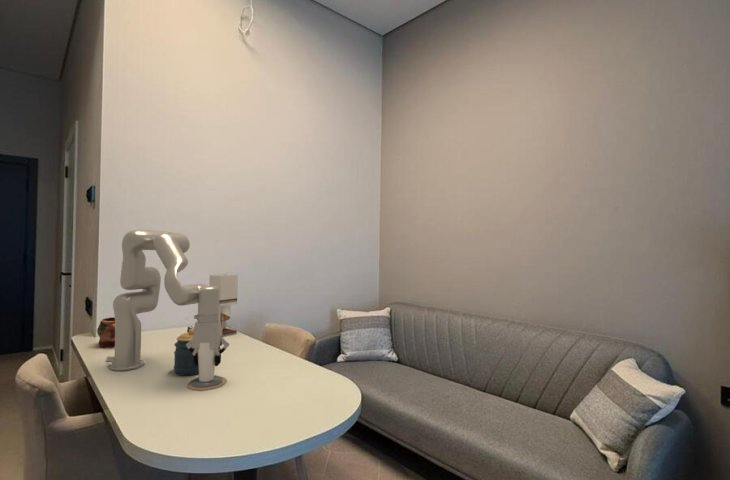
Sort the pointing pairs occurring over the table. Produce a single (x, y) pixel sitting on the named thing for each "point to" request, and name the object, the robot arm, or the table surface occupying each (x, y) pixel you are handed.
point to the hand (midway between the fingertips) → (207, 364)
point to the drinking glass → (206, 362)
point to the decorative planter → (107, 332)
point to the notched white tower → (225, 298)
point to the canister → (184, 356)
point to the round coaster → (206, 383)
